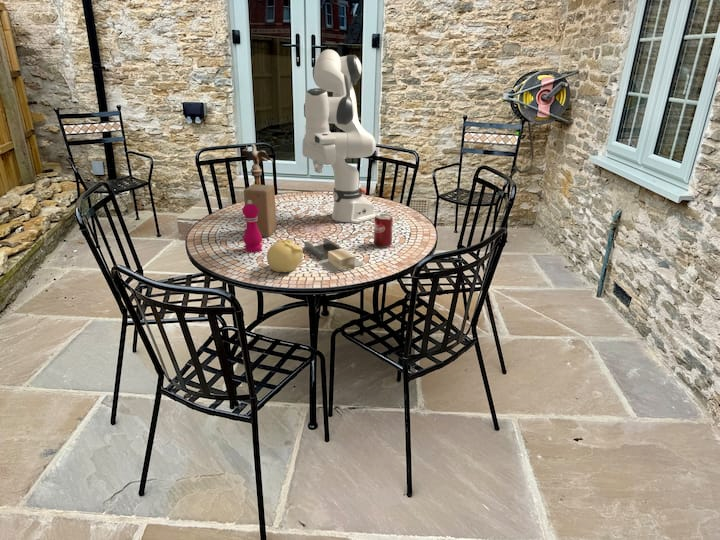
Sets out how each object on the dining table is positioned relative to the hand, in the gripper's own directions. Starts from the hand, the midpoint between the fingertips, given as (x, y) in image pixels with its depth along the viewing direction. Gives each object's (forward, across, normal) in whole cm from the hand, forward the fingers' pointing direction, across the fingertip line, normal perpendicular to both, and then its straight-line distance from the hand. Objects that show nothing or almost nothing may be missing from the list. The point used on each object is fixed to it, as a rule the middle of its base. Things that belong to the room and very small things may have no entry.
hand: (318, 172), depth 184 cm
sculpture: (+29, +17, -23) cm, 41 cm away
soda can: (+29, +15, +21) cm, 39 cm away
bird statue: (+29, -45, -8) cm, 54 cm away
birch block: (+28, +25, -4) cm, 38 cm away
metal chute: (+29, +11, -4) cm, 31 cm away
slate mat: (+29, +24, -4) cm, 37 cm away
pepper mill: (+29, -6, -26) cm, 40 cm away
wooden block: (+29, -22, -16) cm, 40 cm away
